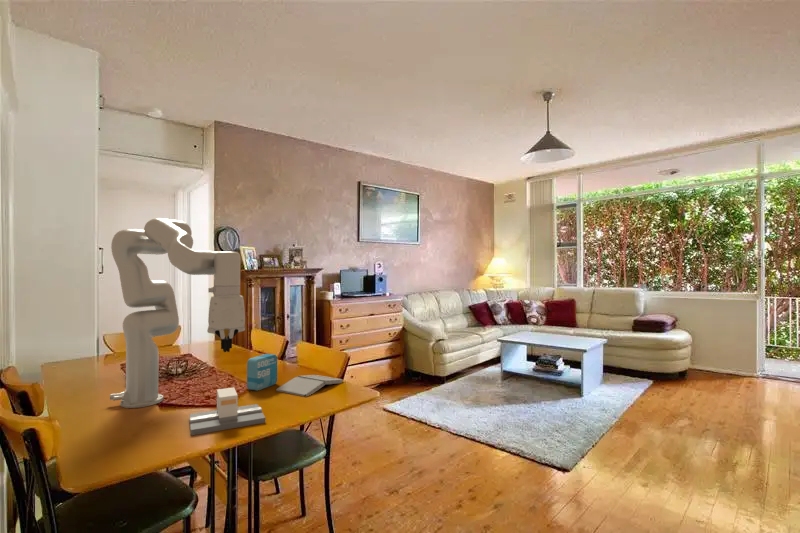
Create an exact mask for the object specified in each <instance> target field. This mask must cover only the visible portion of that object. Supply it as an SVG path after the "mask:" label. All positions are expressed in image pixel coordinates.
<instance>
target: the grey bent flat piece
mask: <svg viewBox="0 0 800 533" xmlns="http://www.w3.org/2000/svg"><path fill="white" fill-rule="evenodd" d="M342 383H344V379H342V378H337V377H332V376H331V377H330V376H324V375H317V374H307V375H298V376H295V377H294V378H291V379H290V380H288V381H287V382H285V383H283V384H282V385H280V386H279V387H277V388H275V389H276V390H275V391H276V392H280V393H284V394H288V395H289V394H290V395H294V396H299V395H300V397H304V396H305V398H307V397H310V396H312V395H313V394H315V393H316V392H318V391H319V390H320V389H322V388H323V387H324V386H326V385H333V384H342ZM311 394H312V395H311ZM309 395H310V396H309Z"/></svg>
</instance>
